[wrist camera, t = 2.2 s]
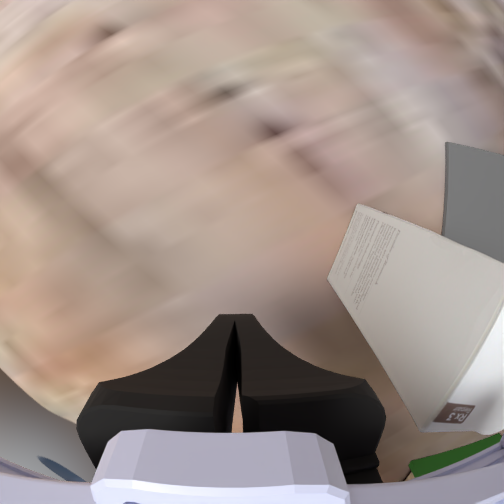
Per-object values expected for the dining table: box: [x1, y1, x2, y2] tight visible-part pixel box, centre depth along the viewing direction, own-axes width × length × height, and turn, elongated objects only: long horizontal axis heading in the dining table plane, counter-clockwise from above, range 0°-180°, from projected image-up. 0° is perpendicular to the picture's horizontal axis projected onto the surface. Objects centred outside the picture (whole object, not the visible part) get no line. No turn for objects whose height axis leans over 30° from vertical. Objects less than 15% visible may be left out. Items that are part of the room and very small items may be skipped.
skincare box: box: [327, 204, 504, 435], centre depth 14 cm, size 8×6×15 cm
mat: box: [442, 142, 504, 263], centre depth 21 cm, size 18×16×1 cm
